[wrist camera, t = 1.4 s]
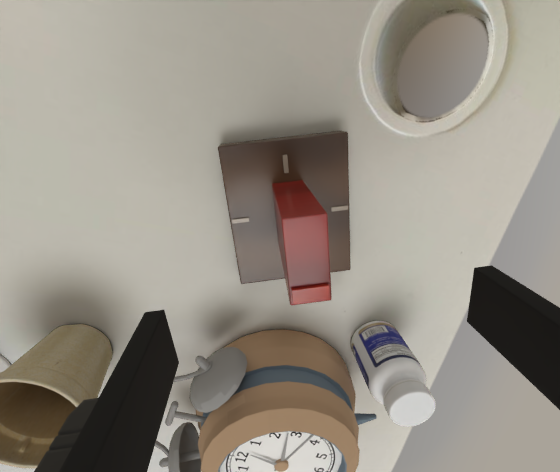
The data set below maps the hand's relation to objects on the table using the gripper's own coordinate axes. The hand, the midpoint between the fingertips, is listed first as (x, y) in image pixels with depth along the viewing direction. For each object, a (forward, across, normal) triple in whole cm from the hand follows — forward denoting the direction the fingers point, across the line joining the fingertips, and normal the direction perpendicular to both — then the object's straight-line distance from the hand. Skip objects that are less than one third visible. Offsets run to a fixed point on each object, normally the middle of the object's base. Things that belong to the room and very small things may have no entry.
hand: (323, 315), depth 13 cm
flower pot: (+16, -22, -12) cm, 30 cm away
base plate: (+16, 0, 0) cm, 16 cm away
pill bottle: (+16, +8, -16) cm, 24 cm away
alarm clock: (+16, -6, -20) cm, 26 cm away
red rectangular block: (+14, 0, 0) cm, 14 cm away
